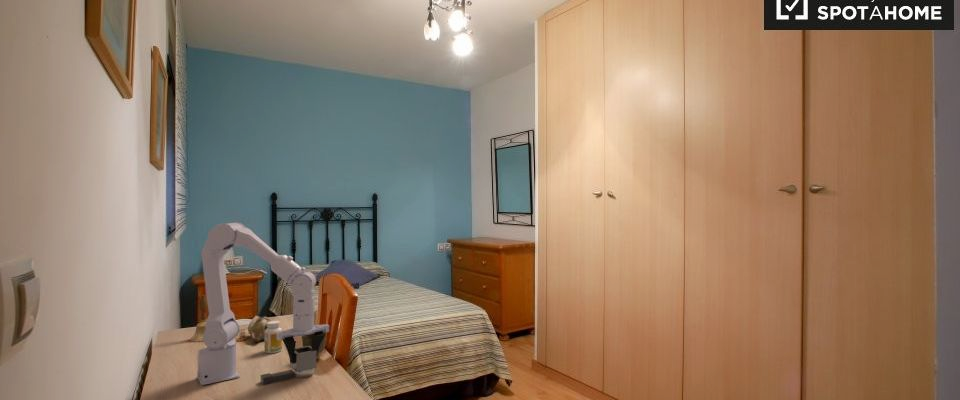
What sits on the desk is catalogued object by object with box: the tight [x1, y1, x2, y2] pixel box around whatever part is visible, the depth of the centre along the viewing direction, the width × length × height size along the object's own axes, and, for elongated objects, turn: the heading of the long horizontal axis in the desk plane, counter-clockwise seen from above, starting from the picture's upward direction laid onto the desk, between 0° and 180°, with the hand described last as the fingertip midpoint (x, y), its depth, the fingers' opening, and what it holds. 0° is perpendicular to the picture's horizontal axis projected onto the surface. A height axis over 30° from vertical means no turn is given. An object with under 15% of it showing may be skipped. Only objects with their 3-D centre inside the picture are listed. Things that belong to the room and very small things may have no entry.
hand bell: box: [189, 294, 208, 343], centre depth 167 cm, size 8×8×16 cm
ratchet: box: [260, 367, 315, 386], centre depth 131 cm, size 14×6×5 cm, turn 129°
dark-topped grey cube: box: [289, 346, 317, 372], centre depth 134 cm, size 6×6×5 cm
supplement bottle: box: [264, 320, 283, 354], centre depth 154 cm, size 5×5×10 cm
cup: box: [301, 332, 327, 361], centre depth 147 cm, size 8×7×8 cm
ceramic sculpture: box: [247, 315, 272, 342], centre depth 168 cm, size 11×9×15 cm
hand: (303, 360), depth 134 cm, fingers closed on dark-topped grey cube, 6 cm apart
